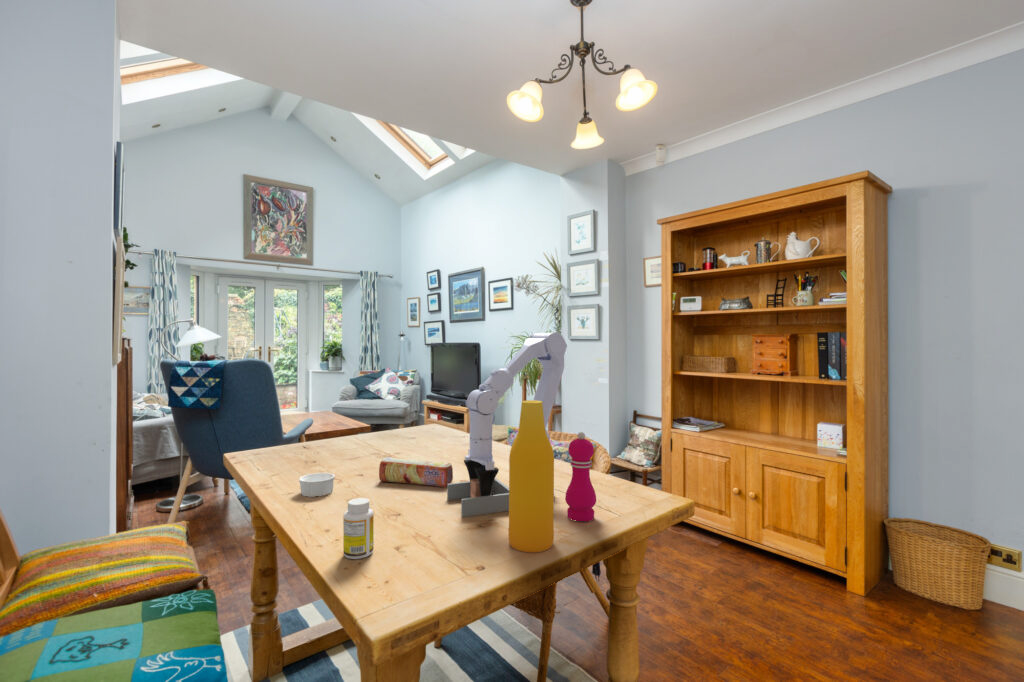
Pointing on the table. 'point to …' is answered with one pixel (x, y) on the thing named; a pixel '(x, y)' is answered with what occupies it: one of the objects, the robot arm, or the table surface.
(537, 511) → the beer bottle
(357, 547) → the supplement bottle
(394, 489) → the table surface
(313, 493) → the ramekin
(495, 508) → the open side box
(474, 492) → the block
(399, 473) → the snack package
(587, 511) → the pepper mill
